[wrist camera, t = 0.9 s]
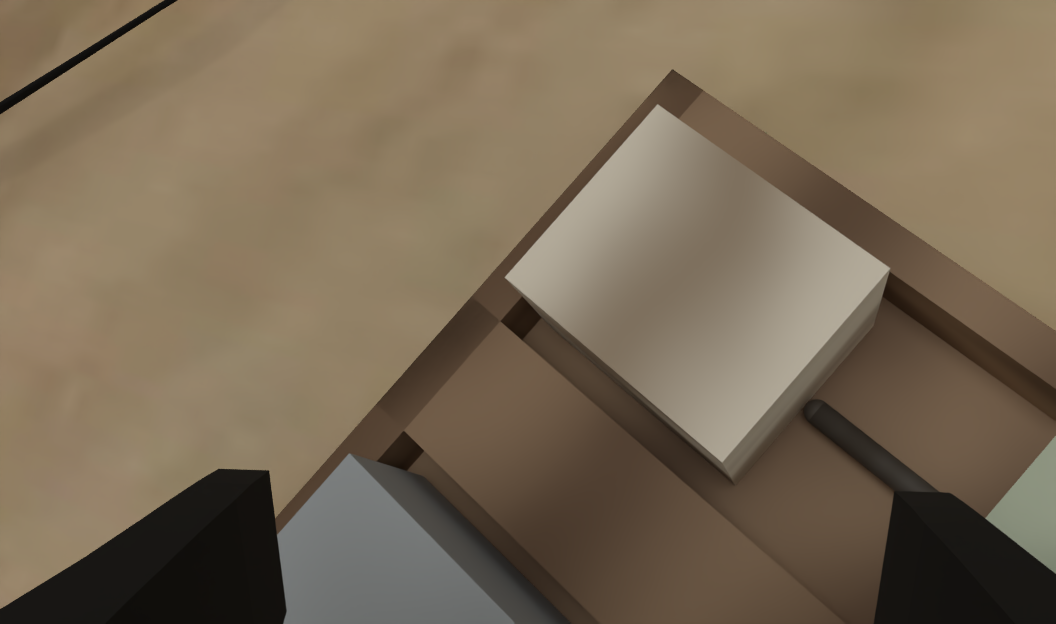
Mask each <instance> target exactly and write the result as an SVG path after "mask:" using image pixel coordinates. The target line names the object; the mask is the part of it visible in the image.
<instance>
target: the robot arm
mask: <svg viewBox="0 0 1056 624" xmlns="http://www.w3.org/2000/svg"><path fill="white" fill-rule="evenodd" d="M286 612H287V609H286V601H285V593H284V586H283V578H282V570H281V562H280V554H279V546H278V538H277V530H276V522H275V515H274V507H273V499H272V491H271V483H270V475H269V471H266V470H236V469H218V470H216V471H214V472H213V473H211V474H209V475H207V476H206V477H204V478H202V479H201V480H199V481H198V482H196V483H195V484H193V485H191V486H190V487H188V488H187V489H185V490H184V491H182V492H181V493H179V494H178V495H176V496H175V497H173V498H172V499H170V500H169V501H167V502H166V503H165V504H163V505H162V506H160V507H159V508H157V509H156V510H154V511H153V512H151V513H150V514H148V515H147V516H145V517H144V518H143V519H141V520H140V521H138V522H137V523H135V524H134V525H132V526H131V527H129V528H128V529H126V530H125V531H123V532H122V533H120V534H119V535H117V536H116V537H114V538H113V539H111V540H110V541H108V542H107V543H105V544H104V545H102V546H101V547H99V548H98V549H96V550H95V551H93V552H92V553H90V554H89V555H87V556H86V557H84V558H83V559H81V560H80V561H78V562H76V563H75V564H73V565H71V566H70V567H68V568H67V569H65V570H63V571H62V572H60V573H58V574H57V575H55V576H54V577H52V578H50V579H49V580H47V581H45V582H44V583H42V584H41V585H39V586H37V587H36V588H34V589H32V590H31V591H29V592H28V593H26V594H24V595H23V596H21V597H19V598H18V599H16V600H15V601H13V602H11V603H10V604H8V605H6V606H5V607H3V608H1V609H0V624H283V623H284V619H285V616H286ZM874 624H1056V573H1054V572H1053V571H1052V570H1050V569H1049V568H1048V567H1047V566H1045V565H1044V564H1043V563H1041V562H1040V561H1039V560H1038V559H1036V558H1035V557H1034V556H1032V555H1031V554H1030V553H1029V552H1027V551H1026V550H1025V549H1024V548H1022V547H1021V546H1020V545H1018V544H1017V543H1016V542H1015V541H1013V540H1012V539H1011V538H1010V537H1008V536H1007V535H1006V534H1005V533H1003V532H1002V531H1001V530H999V529H998V528H997V527H996V526H994V525H993V524H992V523H991V522H989V521H988V520H987V519H985V518H984V517H983V516H982V515H980V514H979V513H978V512H976V511H975V510H974V509H972V508H971V507H970V506H968V505H967V504H966V503H964V502H963V501H961V500H960V499H959V498H957V497H956V496H954V495H953V494H951V493H945V492H914V491H894V496H893V502H892V509H891V515H890V522H889V528H888V534H887V541H886V547H885V554H884V560H883V567H882V573H881V579H880V586H879V592H878V599H877V605H876V611H875V618H874Z"/></svg>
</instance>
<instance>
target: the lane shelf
mask: <svg viewBox="0 0 1056 624" xmlns="http://www.w3.org/2000/svg"><path fill="white" fill-rule="evenodd" d="M657 104H658V105H659V106H661V107H662V108H664V109H665V110H666V111H668V112H669V113H671V114H672V115H674V116H675V117H676V118H678V119H679V120H681V121H682V122H683V123H685V124H686V125H688V126H689V127H691V128H692V129H693V130H695V131H696V132H698V133H699V134H700V135H702V136H703V137H705V138H706V139H708V140H709V141H710V142H712V143H713V144H715V145H716V146H717V147H719V148H720V149H722V150H723V151H725V152H726V153H727V154H729V155H730V156H732V157H733V158H735V159H736V160H737V161H739V162H740V163H742V164H743V165H744V166H746V167H747V168H749V169H750V170H752V171H753V172H754V173H756V174H757V175H759V176H760V177H761V178H763V179H764V180H766V181H767V182H769V183H770V184H771V185H773V186H774V187H776V188H777V189H778V190H780V191H781V192H783V193H784V194H786V195H787V196H788V197H790V198H791V199H793V200H794V201H796V202H797V203H798V204H800V205H801V206H803V207H804V208H805V209H807V210H808V211H810V212H811V213H813V214H814V215H815V216H817V217H818V218H820V219H821V220H822V221H824V222H825V223H827V224H828V225H830V226H831V227H832V228H834V229H835V230H837V231H838V232H839V233H841V234H842V235H844V236H845V237H847V238H848V239H849V240H851V241H852V242H854V243H855V244H857V245H858V246H859V247H861V248H862V249H864V250H865V251H866V252H868V253H869V254H871V255H872V256H874V257H875V258H876V259H878V260H879V261H881V262H882V263H883V264H885V265H886V266H888V267H889V268H890V271H889V275H888V278H887V282H886V285H885V288H884V292H883V295H882V299H881V302H880V306H879V309H878V312H877V316H876V319H875V323H874V326H873V327H872V328H871V329H870V331H869V332H868V333H867V334H866V335H865V336H864V338H863V339H862V340H861V341H860V342H859V343H858V344H857V346H856V347H855V348H854V349H853V350H852V351H851V353H850V354H849V355H848V356H847V357H846V358H845V359H844V361H843V362H842V363H841V364H840V365H839V366H838V368H837V369H836V370H835V371H834V372H833V373H832V375H831V376H830V377H829V378H828V379H827V380H826V381H825V383H824V384H823V385H822V386H821V387H820V388H819V390H818V391H817V392H816V393H815V394H814V395H813V396H812V398H811V399H810V400H809V401H811V400H814V399H820V400H823V401H824V402H826V403H827V404H828V405H830V406H831V407H832V408H834V409H835V410H836V411H837V412H839V413H840V414H841V415H842V416H844V417H845V418H846V419H848V420H849V421H850V422H851V423H853V424H854V425H855V426H856V427H858V428H859V429H860V430H862V431H863V432H864V433H865V434H867V435H868V436H869V437H871V438H872V439H873V440H874V441H876V442H877V443H878V444H879V445H881V446H882V447H883V448H885V449H886V450H887V451H888V452H890V453H891V454H892V455H893V456H895V457H896V458H897V459H899V460H900V461H901V462H902V463H904V464H905V465H906V466H907V467H909V468H910V469H911V470H913V471H914V472H915V473H916V474H918V475H919V476H920V477H921V478H923V479H924V480H925V481H927V482H928V483H929V484H930V485H932V486H933V487H934V488H935V489H937V490H938V491H939V492H945V493H951V494H953V495H954V496H956V497H957V498H959V499H960V500H961V501H963V502H964V503H966V504H967V505H968V506H970V507H971V508H972V509H974V510H975V511H976V512H978V513H979V514H980V515H982V516H983V517H984V518H986V517H987V516H988V514H989V513H990V512H991V511H992V510H993V509H994V507H995V506H996V505H997V504H998V503H999V502H1000V500H1001V499H1002V498H1003V497H1004V496H1005V495H1006V493H1007V492H1008V491H1009V490H1010V489H1011V488H1012V486H1013V485H1014V484H1015V483H1016V482H1017V481H1018V479H1019V478H1020V477H1021V476H1022V475H1023V473H1024V472H1025V471H1026V470H1027V469H1028V468H1029V466H1030V465H1031V464H1032V463H1033V462H1034V461H1035V459H1036V458H1037V457H1038V456H1039V455H1040V454H1041V452H1042V451H1043V450H1044V449H1045V448H1046V447H1047V445H1048V444H1049V443H1050V442H1051V441H1052V439H1053V438H1054V437H1055V436H1056V331H1055V330H1053V329H1052V328H1050V327H1049V326H1047V325H1046V324H1044V323H1043V322H1042V321H1040V320H1039V319H1037V318H1036V317H1034V316H1033V315H1031V314H1030V313H1028V312H1027V311H1025V310H1024V309H1023V308H1021V307H1020V306H1018V305H1017V304H1015V303H1014V302H1012V301H1011V300H1009V299H1008V298H1006V297H1005V296H1003V295H1002V294H1001V293H999V292H998V291H996V290H995V289H993V288H992V287H990V286H989V285H987V284H986V283H984V282H983V281H982V280H980V279H979V278H977V277H976V276H974V275H973V274H971V273H970V272H968V271H967V270H965V269H964V268H963V267H961V266H960V265H958V264H957V263H955V262H954V261H952V260H951V259H949V258H948V257H946V256H945V255H943V254H942V253H941V252H939V251H938V250H936V249H935V248H933V247H932V246H930V245H929V244H927V243H926V242H924V241H923V240H922V239H920V238H919V237H917V236H916V235H914V234H913V233H911V232H910V231H908V230H907V229H905V228H904V227H902V226H901V225H900V224H898V223H897V222H895V221H894V220H892V219H891V218H889V217H888V216H886V215H885V214H883V213H882V212H881V211H879V210H878V209H876V208H875V207H873V206H872V205H870V204H869V203H867V202H866V201H864V200H863V199H862V198H860V197H859V196H857V195H856V194H854V193H853V192H851V191H850V190H848V189H847V188H845V187H844V186H842V185H841V184H840V183H838V182H837V181H835V180H834V179H832V178H831V177H829V176H828V175H826V174H825V173H823V172H822V171H821V170H819V169H818V168H816V167H815V166H813V165H812V164H810V163H809V162H807V161H806V160H804V159H803V158H801V157H800V156H799V155H797V154H796V153H794V152H793V151H791V150H790V149H788V148H787V147H785V146H784V145H782V144H781V143H780V142H778V141H777V140H775V139H774V138H772V137H771V136H769V135H768V134H766V133H765V132H763V131H762V130H761V129H759V128H758V127H756V126H755V125H753V124H752V123H750V122H749V121H747V120H746V119H744V118H743V117H741V116H740V115H739V114H737V113H736V112H734V111H733V110H731V109H730V108H728V107H727V106H725V105H724V104H722V103H721V102H720V101H718V100H717V99H715V98H714V97H712V96H711V95H709V94H708V93H706V92H705V91H703V90H702V89H700V88H699V87H698V86H696V85H695V84H693V83H692V82H690V81H689V80H687V79H686V78H684V77H683V76H681V75H680V74H679V73H677V72H676V71H674V70H673V69H672V70H671V71H670V73H669V74H668V75H667V76H666V77H665V78H664V79H663V80H662V82H661V83H660V84H659V85H658V86H657V87H656V88H655V90H654V91H653V92H652V93H651V94H650V95H649V96H648V97H647V99H646V100H645V101H644V102H643V103H642V104H641V105H640V106H639V108H638V109H637V110H636V111H635V112H634V113H633V114H632V116H631V117H630V118H629V119H628V120H627V121H626V122H625V123H624V125H623V126H622V127H621V128H620V129H619V130H618V131H617V133H616V134H615V135H614V136H613V137H612V138H611V139H610V140H609V142H608V143H607V144H606V145H605V146H604V147H603V148H602V149H601V151H600V152H599V153H598V154H597V155H596V156H595V157H594V159H593V160H592V161H591V162H590V163H589V164H588V165H587V166H586V168H585V169H584V170H583V171H582V172H581V173H580V174H579V176H578V177H577V178H576V179H575V180H574V181H573V182H572V183H571V185H570V186H569V187H568V188H567V189H566V190H565V191H564V192H563V194H562V195H561V196H560V197H559V198H558V199H557V200H556V202H555V203H554V204H553V205H552V206H551V207H550V208H549V209H548V211H547V212H546V213H545V214H544V215H543V216H542V217H541V218H540V220H539V221H538V222H537V223H536V224H535V225H534V226H533V228H532V229H531V230H530V231H529V232H528V233H527V234H526V235H525V237H524V238H523V239H522V240H521V241H520V242H519V243H518V245H517V246H516V247H515V248H514V249H513V250H512V251H511V252H510V254H509V255H508V256H507V257H506V258H505V259H504V260H503V261H502V263H501V264H500V265H499V266H498V267H497V268H496V269H495V271H494V272H493V273H492V274H491V275H490V276H489V277H488V278H487V280H486V281H485V282H484V283H483V284H482V285H481V286H480V288H479V289H478V290H477V291H476V292H475V293H474V294H473V295H472V297H471V298H470V299H469V300H468V301H467V302H466V303H465V304H464V306H463V307H462V308H461V309H460V310H459V311H458V312H457V314H456V315H455V316H454V317H453V318H452V319H451V320H450V321H449V323H448V324H447V325H446V326H445V327H444V328H443V329H442V331H441V332H440V333H439V334H438V335H437V336H436V337H435V338H434V340H433V341H432V342H431V343H430V344H429V345H428V346H427V347H426V349H425V350H424V351H423V352H422V353H421V354H420V355H419V357H418V358H417V359H416V360H415V361H414V362H413V363H412V364H411V366H410V367H409V368H408V369H407V370H406V371H405V372H404V373H403V375H402V376H401V377H400V378H399V379H398V380H397V381H396V383H395V384H394V385H393V386H392V387H391V388H390V389H389V390H388V392H387V393H386V394H385V395H384V396H383V397H382V398H381V400H380V401H379V402H378V403H377V404H376V405H375V406H374V407H373V409H372V410H371V411H370V412H369V413H368V414H367V415H366V416H365V418H364V419H363V420H362V421H361V422H360V423H359V424H358V426H357V427H356V428H355V429H354V430H353V431H352V432H351V433H350V435H349V436H348V437H347V438H346V439H345V440H344V441H343V443H342V444H341V445H340V446H339V447H338V448H337V449H336V450H335V452H334V453H333V454H332V455H331V456H330V457H329V458H328V459H327V461H326V462H325V463H324V464H323V465H322V466H321V467H320V469H319V470H318V471H317V472H316V473H315V474H314V475H313V476H312V478H311V479H310V480H309V481H308V482H307V483H306V484H305V486H304V487H303V488H302V489H301V490H300V491H299V492H298V493H297V495H296V496H295V497H294V498H293V499H292V500H291V501H290V502H289V504H288V505H287V506H286V507H285V508H284V509H283V510H282V512H281V513H280V514H279V515H278V516H277V517H276V518H275V522H276V530H277V535H278V533H279V532H280V531H281V530H282V529H283V528H284V527H285V526H286V524H287V523H288V522H289V521H290V520H291V519H292V518H293V516H294V515H295V514H296V513H297V512H298V511H299V510H300V509H301V507H302V506H303V505H304V504H305V503H306V502H307V501H308V499H309V498H310V497H311V496H312V495H313V494H314V493H315V492H316V490H317V489H318V488H319V487H320V486H321V485H322V484H323V483H324V481H325V480H326V479H327V478H328V477H329V476H330V475H331V473H332V472H333V471H334V470H335V469H336V468H337V467H338V466H339V464H340V463H341V462H342V461H343V460H344V459H345V458H346V456H347V455H348V454H349V453H350V454H354V455H357V456H360V457H363V458H367V459H370V460H373V461H376V462H379V463H383V464H386V465H389V466H392V467H396V468H399V469H402V470H405V471H409V472H412V473H415V474H418V475H422V476H424V477H425V478H426V479H427V480H428V481H429V482H430V483H431V484H432V485H433V486H434V487H435V488H436V489H437V490H438V491H439V492H440V493H441V494H442V495H443V496H444V497H445V498H446V499H447V500H448V501H449V502H450V503H451V504H452V505H453V506H454V507H455V508H456V509H457V510H458V511H459V512H460V513H461V514H462V515H463V516H464V517H465V518H466V519H467V520H468V521H469V522H470V523H471V524H472V525H473V526H474V527H475V528H476V529H477V530H478V531H479V532H480V533H481V534H482V535H483V536H484V537H485V538H486V539H487V540H488V541H489V542H490V543H491V544H492V545H493V546H494V547H495V548H496V549H497V550H498V551H499V552H500V553H501V554H502V555H503V556H504V557H505V558H506V559H507V560H508V561H509V562H510V563H511V564H512V565H513V566H514V567H515V568H516V569H517V570H518V571H519V572H520V573H521V574H522V575H523V576H524V577H525V578H526V579H527V580H528V581H529V582H530V583H531V584H532V585H533V586H534V587H535V588H536V589H537V590H538V591H539V592H540V593H541V594H542V595H543V596H544V597H545V598H546V599H547V600H548V601H549V602H550V603H551V604H552V605H553V606H554V607H555V608H556V609H557V610H558V611H559V612H560V613H561V614H562V615H563V616H564V617H565V618H566V619H567V620H568V621H569V622H570V623H571V624H874V618H875V611H876V605H877V599H878V592H879V586H880V579H881V573H882V567H883V560H884V554H885V547H886V541H887V534H888V528H889V522H890V515H891V509H892V502H893V496H894V490H893V489H892V488H890V487H889V486H888V485H887V484H885V483H884V482H883V481H882V480H880V479H879V478H878V477H877V476H875V475H874V474H873V473H872V472H870V471H869V470H868V469H867V468H865V467H864V466H863V465H862V464H860V463H859V462H858V461H857V460H855V459H854V458H853V457H852V456H850V455H849V454H848V453H847V452H845V451H844V450H843V449H842V448H840V447H839V446H838V445H837V444H835V443H834V442H833V441H832V440H830V439H829V438H828V437H827V436H825V435H824V434H823V433H822V432H820V431H819V430H818V429H817V428H815V427H814V426H813V425H812V424H810V423H809V422H808V421H807V420H806V418H805V416H804V407H805V406H804V407H803V408H802V409H801V410H800V411H799V413H798V414H797V415H796V416H795V417H794V418H793V420H792V421H791V422H790V423H789V424H788V425H787V427H786V428H785V429H784V430H783V431H782V432H781V433H780V435H779V436H778V437H777V438H776V439H775V440H774V442H773V443H772V444H771V445H770V446H769V447H768V448H767V450H766V451H765V452H764V453H763V454H762V455H761V457H760V458H759V459H758V460H757V461H756V462H755V464H754V465H753V466H752V467H751V468H750V469H749V470H748V472H747V473H746V474H745V475H744V476H743V477H742V479H741V480H740V481H739V482H738V483H737V484H736V485H734V484H733V483H732V482H731V481H729V480H728V479H727V478H726V477H725V476H724V475H722V474H721V473H720V472H719V471H718V470H717V469H715V468H714V467H713V466H712V465H711V464H710V463H708V462H707V461H706V460H705V459H704V458H703V457H701V456H700V455H699V454H698V453H697V452H696V451H694V450H693V449H692V448H691V447H690V446H689V445H687V444H686V443H685V442H684V441H683V440H682V439H680V438H679V437H678V436H677V435H676V434H675V433H673V432H672V431H671V430H670V429H669V428H668V427H666V426H665V425H664V424H663V423H662V422H661V421H659V420H658V419H657V418H656V417H655V416H654V415H652V414H651V413H650V412H649V411H648V410H647V409H645V408H644V407H643V406H642V405H641V404H640V403H638V402H637V401H636V400H635V399H634V398H633V397H631V396H630V395H629V394H628V393H627V392H626V391H624V390H623V389H622V388H621V387H620V386H619V385H617V384H616V383H615V382H614V381H613V380H612V379H610V378H609V377H608V376H607V375H606V374H605V373H603V372H602V371H601V370H600V369H599V368H598V367H596V366H595V365H594V364H593V363H592V362H591V361H589V360H588V359H587V358H586V357H585V356H584V355H582V354H581V353H580V352H579V351H578V350H576V349H575V348H574V347H573V346H572V345H571V344H569V343H568V342H567V341H566V340H565V339H564V338H562V337H561V336H560V335H559V334H558V333H557V332H555V331H554V330H553V329H552V328H551V327H550V326H549V325H548V324H547V322H546V321H545V320H544V319H543V318H542V317H541V316H540V315H539V314H538V313H537V312H536V311H535V310H534V308H533V307H532V306H531V305H530V304H529V303H528V302H527V301H526V300H525V299H524V298H523V297H522V296H521V294H520V293H519V292H518V291H517V290H516V289H515V288H514V287H513V286H512V285H511V284H510V283H509V282H508V280H507V279H506V278H505V276H506V275H507V274H508V273H509V272H510V271H511V270H512V269H513V267H514V266H515V265H516V264H517V263H518V262H519V261H520V259H521V258H522V257H523V256H524V255H525V254H526V253H527V252H528V250H529V249H530V248H531V247H532V246H533V245H534V244H535V242H536V241H537V240H538V239H539V238H540V237H541V236H542V235H543V233H544V232H545V231H546V230H547V229H548V228H549V227H550V225H551V224H552V223H553V222H554V221H555V220H556V219H557V218H558V216H559V215H560V214H561V213H562V212H563V211H564V210H565V208H566V207H567V206H568V205H569V204H570V203H571V202H572V201H573V199H574V198H575V197H576V196H577V195H578V194H579V193H580V192H581V190H582V189H583V188H584V187H585V186H586V185H587V184H588V182H589V181H590V180H591V179H592V178H593V177H594V176H595V175H596V173H597V172H598V171H599V170H600V169H601V168H602V167H603V165H604V164H605V163H606V162H607V161H608V160H609V159H610V158H611V156H612V155H613V154H614V153H615V152H616V151H617V150H618V148H619V147H620V146H621V145H622V144H623V143H624V142H625V141H626V139H627V138H628V137H629V136H630V135H631V134H632V133H633V131H634V130H635V129H636V128H637V127H638V126H639V125H640V124H641V122H642V121H643V120H644V119H645V118H646V117H647V116H648V115H649V113H650V112H651V111H652V110H653V109H654V108H655V107H656V105H657ZM809 401H808V402H809ZM808 402H807V403H808ZM807 403H806V404H807Z"/></svg>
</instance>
